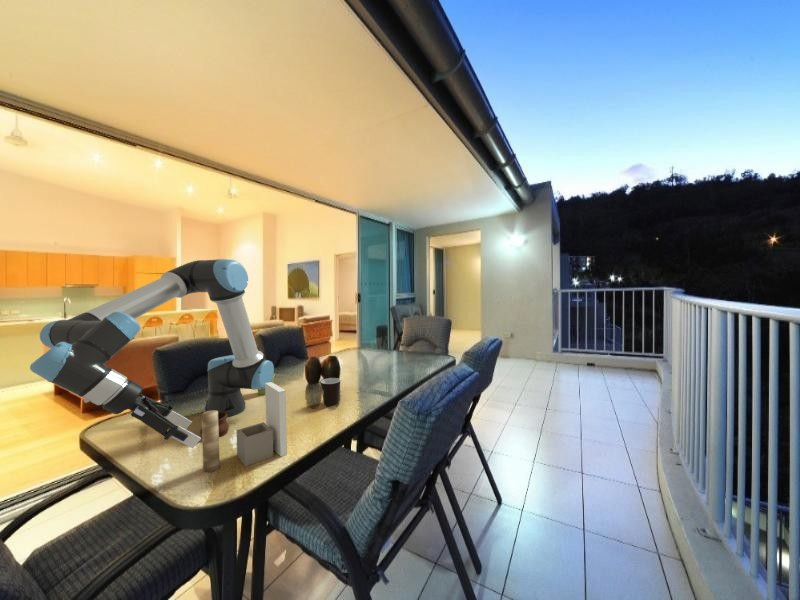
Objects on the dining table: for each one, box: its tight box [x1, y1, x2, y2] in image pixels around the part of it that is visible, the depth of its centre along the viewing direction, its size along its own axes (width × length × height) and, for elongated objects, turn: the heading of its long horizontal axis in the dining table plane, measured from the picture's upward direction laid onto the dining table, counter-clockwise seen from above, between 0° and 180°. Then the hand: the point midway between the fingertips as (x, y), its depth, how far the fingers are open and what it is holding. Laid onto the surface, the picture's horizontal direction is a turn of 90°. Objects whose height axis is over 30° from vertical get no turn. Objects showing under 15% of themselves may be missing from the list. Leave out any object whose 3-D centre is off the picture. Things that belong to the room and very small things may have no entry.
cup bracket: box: [236, 382, 288, 467], centre depth 95 cm, size 12×12×20 cm
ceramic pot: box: [199, 412, 235, 438], centre depth 109 cm, size 18×18×7 cm
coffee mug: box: [320, 377, 342, 407], centre depth 139 cm, size 12×9×10 cm
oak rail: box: [200, 410, 221, 473], centre depth 87 cm, size 4×4×16 cm
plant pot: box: [257, 373, 276, 396], centre depth 152 cm, size 9×9×9 cm
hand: (192, 434), depth 84 cm, fingers open, 13 cm apart
